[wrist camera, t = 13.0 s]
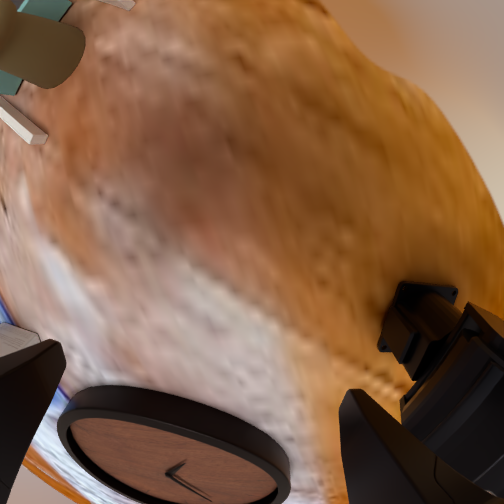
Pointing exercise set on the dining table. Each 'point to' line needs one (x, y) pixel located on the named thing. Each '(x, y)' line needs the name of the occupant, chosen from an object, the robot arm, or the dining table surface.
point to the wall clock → (171, 449)
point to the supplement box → (15, 339)
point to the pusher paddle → (40, 4)
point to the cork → (38, 47)
